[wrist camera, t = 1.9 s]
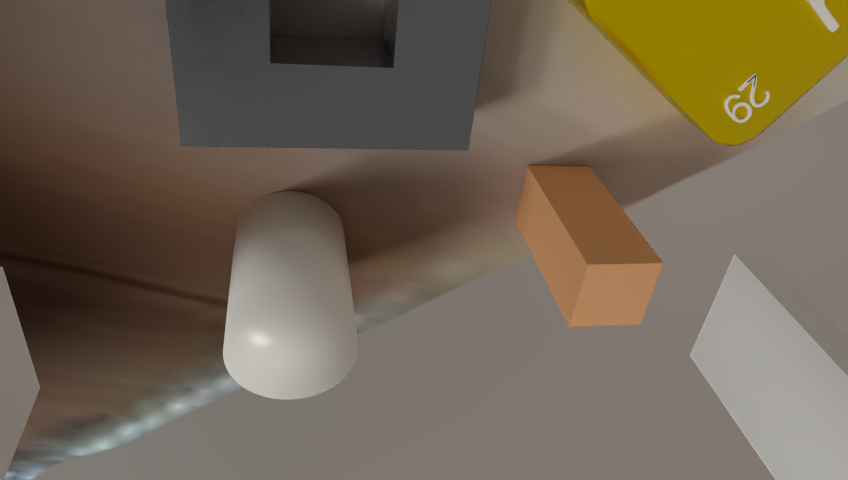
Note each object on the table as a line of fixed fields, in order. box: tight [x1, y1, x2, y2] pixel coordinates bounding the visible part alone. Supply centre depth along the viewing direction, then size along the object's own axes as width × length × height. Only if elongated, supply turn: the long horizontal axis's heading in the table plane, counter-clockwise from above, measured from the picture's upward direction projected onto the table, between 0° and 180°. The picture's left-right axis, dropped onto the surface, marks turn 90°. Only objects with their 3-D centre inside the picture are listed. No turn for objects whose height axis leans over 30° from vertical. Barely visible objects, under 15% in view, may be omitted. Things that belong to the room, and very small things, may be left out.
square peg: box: [516, 165, 663, 327], centre depth 38 cm, size 4×4×10 cm
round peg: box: [223, 191, 358, 399], centre depth 36 cm, size 6×6×10 cm
